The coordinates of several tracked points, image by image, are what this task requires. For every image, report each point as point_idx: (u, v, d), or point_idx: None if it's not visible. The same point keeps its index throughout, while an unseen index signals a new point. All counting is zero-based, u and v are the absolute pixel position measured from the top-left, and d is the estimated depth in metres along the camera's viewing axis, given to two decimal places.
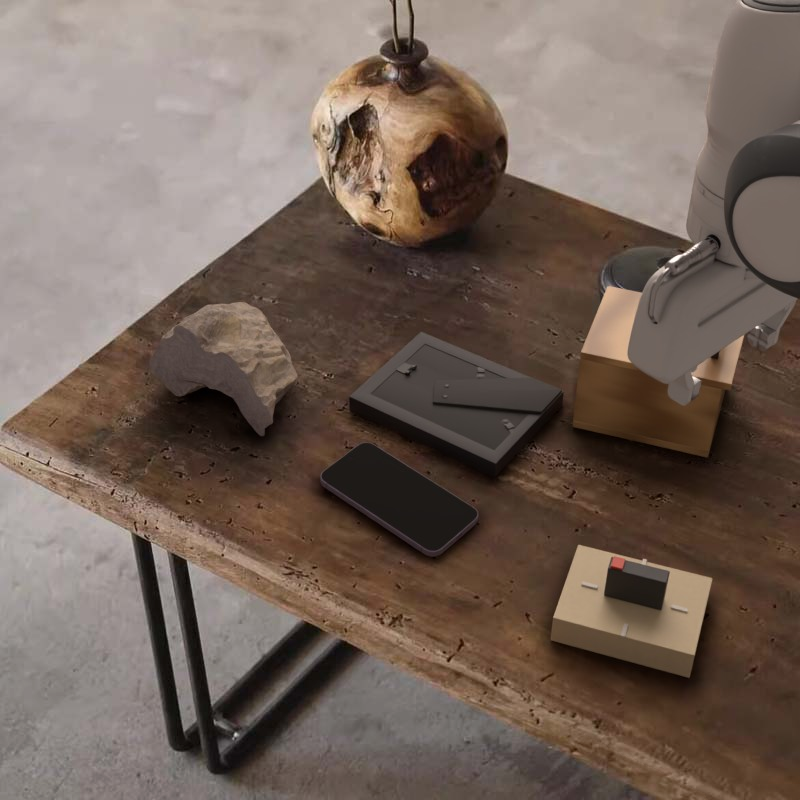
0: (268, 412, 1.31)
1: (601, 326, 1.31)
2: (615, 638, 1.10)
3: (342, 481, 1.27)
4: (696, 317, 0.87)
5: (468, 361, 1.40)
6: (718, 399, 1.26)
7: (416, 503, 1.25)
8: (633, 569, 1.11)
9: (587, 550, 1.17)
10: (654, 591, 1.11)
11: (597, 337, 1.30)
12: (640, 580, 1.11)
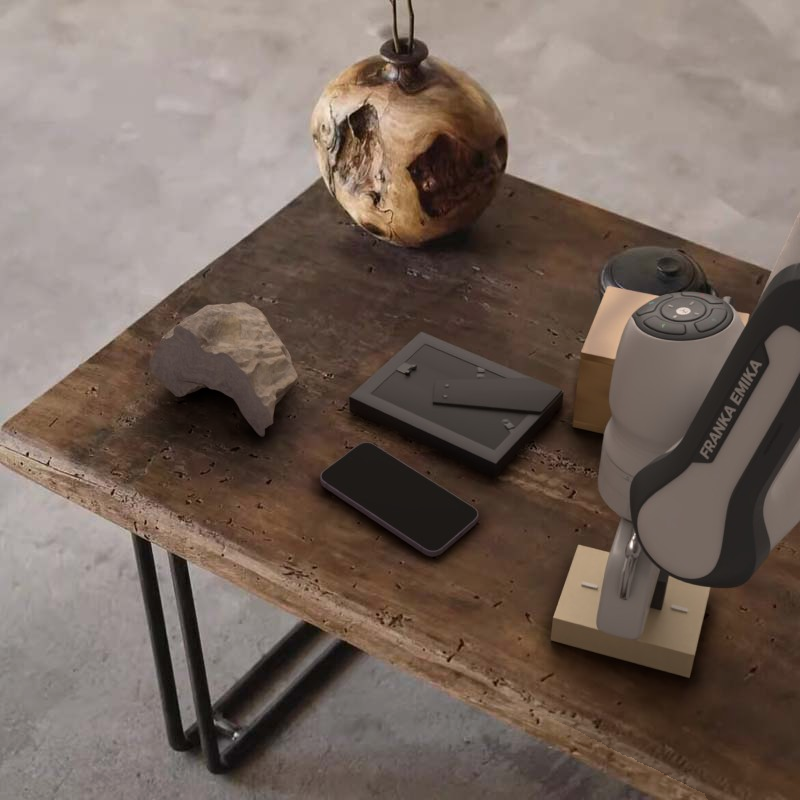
0: (268, 412, 1.31)
1: (601, 326, 1.31)
2: (615, 638, 1.10)
3: (342, 481, 1.27)
4: None
5: (468, 361, 1.40)
6: None
7: (416, 503, 1.25)
8: None
9: (587, 550, 1.17)
10: (654, 591, 1.11)
11: (597, 337, 1.30)
12: None
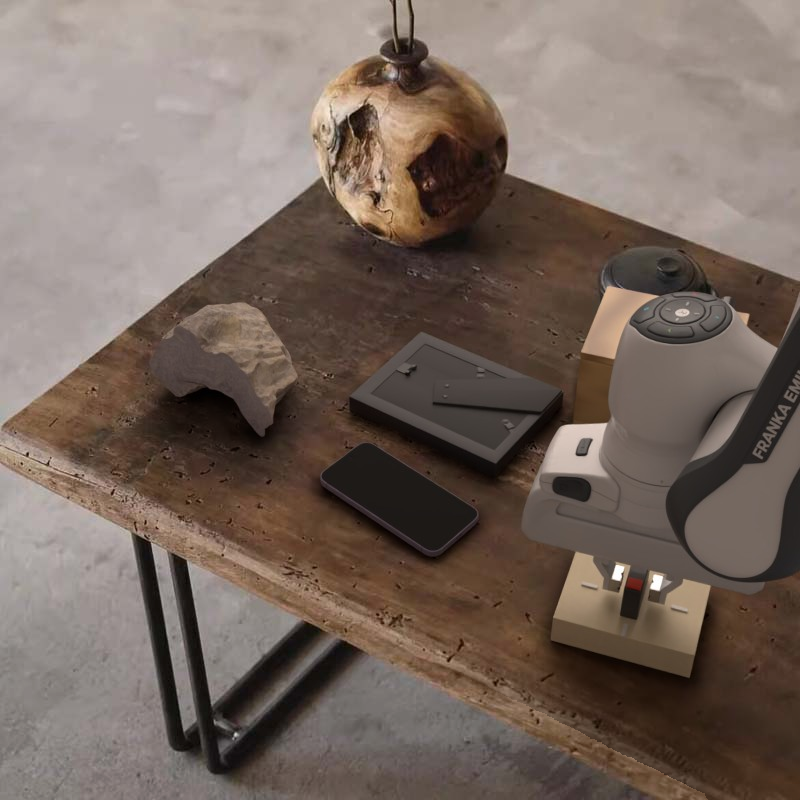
0: (268, 412, 1.31)
1: (601, 326, 1.31)
2: (615, 638, 1.10)
3: (342, 481, 1.27)
4: None
5: (468, 361, 1.40)
6: None
7: (416, 503, 1.25)
8: (639, 573, 1.11)
9: None
10: None
11: (597, 337, 1.30)
12: (647, 572, 1.11)
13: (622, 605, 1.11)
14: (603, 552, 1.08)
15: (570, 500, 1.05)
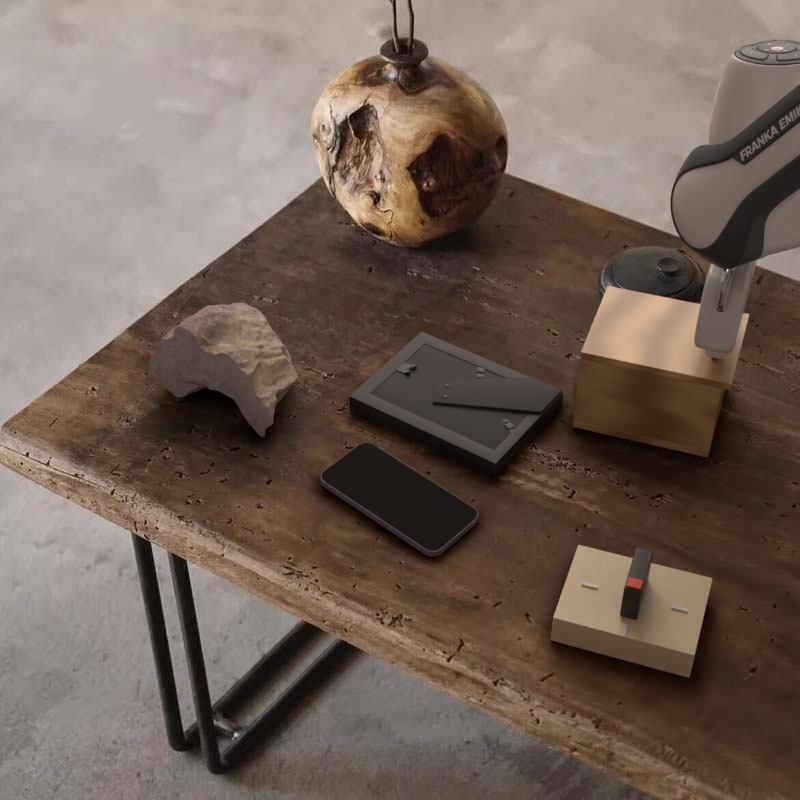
0: (268, 413, 1.31)
1: (601, 326, 1.31)
2: (615, 638, 1.10)
3: (342, 481, 1.27)
4: None
5: (468, 361, 1.40)
6: (718, 399, 1.26)
7: (416, 503, 1.25)
8: (639, 573, 1.11)
9: (587, 550, 1.17)
10: (649, 569, 1.13)
11: (597, 337, 1.30)
12: (647, 572, 1.11)
13: (622, 605, 1.11)
14: None
15: None
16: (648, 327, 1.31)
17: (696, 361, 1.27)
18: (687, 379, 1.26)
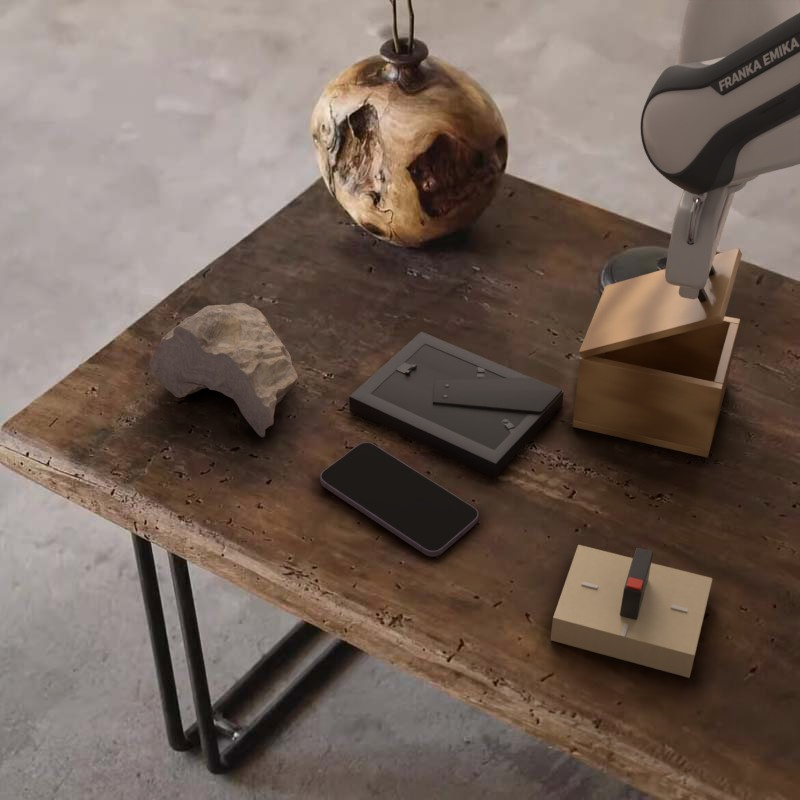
0: (269, 413, 1.31)
1: (598, 322, 1.31)
2: (615, 638, 1.10)
3: (342, 481, 1.27)
4: (716, 231, 1.13)
5: (468, 361, 1.40)
6: (718, 399, 1.26)
7: (416, 503, 1.25)
8: (639, 573, 1.11)
9: (587, 550, 1.17)
10: (649, 569, 1.13)
11: (594, 333, 1.30)
12: (647, 572, 1.11)
13: (622, 605, 1.11)
14: None
15: None
16: (641, 303, 1.30)
17: (686, 311, 1.24)
18: (680, 331, 1.23)
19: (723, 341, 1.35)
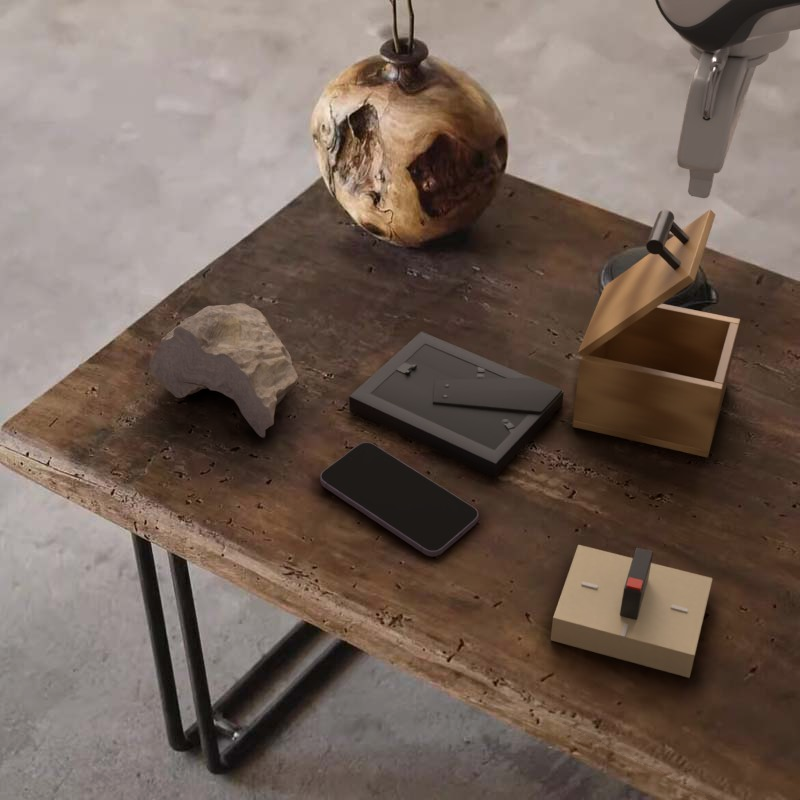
0: (269, 413, 1.31)
1: (595, 320, 1.31)
2: (615, 638, 1.10)
3: (342, 481, 1.27)
4: None
5: (468, 361, 1.40)
6: (718, 399, 1.26)
7: (416, 503, 1.25)
8: (639, 573, 1.11)
9: (587, 550, 1.17)
10: (649, 569, 1.13)
11: (591, 331, 1.30)
12: (647, 572, 1.11)
13: (622, 605, 1.11)
14: None
15: None
16: (629, 290, 1.29)
17: (663, 282, 1.23)
18: (659, 302, 1.21)
19: (723, 341, 1.35)
